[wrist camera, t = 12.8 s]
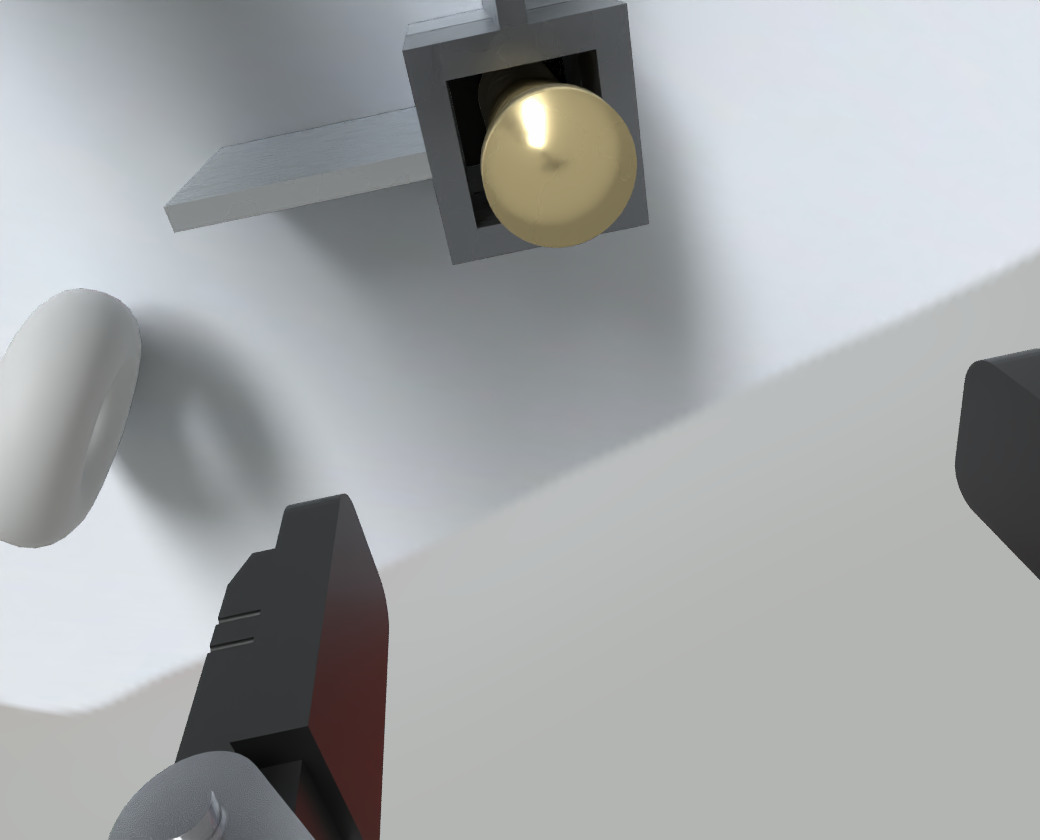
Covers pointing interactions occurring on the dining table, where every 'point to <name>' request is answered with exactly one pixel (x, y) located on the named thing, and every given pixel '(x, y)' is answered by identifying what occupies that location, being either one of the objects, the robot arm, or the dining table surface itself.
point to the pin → (552, 156)
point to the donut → (63, 412)
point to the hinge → (429, 126)
